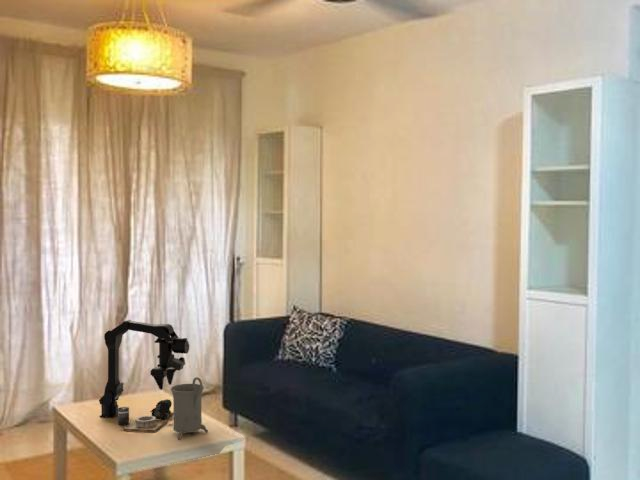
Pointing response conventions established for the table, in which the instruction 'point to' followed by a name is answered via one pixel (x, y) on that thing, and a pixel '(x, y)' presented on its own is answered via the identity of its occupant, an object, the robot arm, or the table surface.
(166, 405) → the night vision scope
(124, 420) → the lens
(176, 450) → the table surface
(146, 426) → the mount plate
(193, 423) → the grey footed pail
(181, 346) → the robot arm
